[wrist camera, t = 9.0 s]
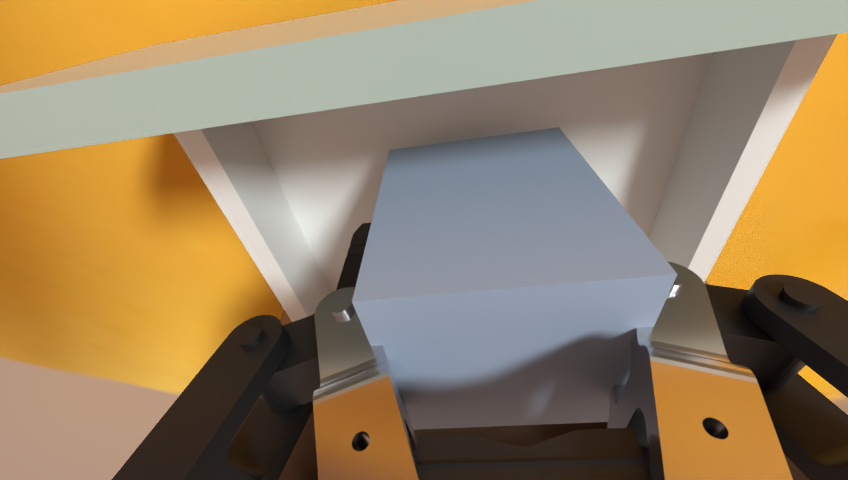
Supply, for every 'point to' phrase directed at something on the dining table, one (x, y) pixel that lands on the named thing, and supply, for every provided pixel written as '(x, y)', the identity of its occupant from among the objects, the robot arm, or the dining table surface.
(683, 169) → the tray
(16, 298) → the dining table surface
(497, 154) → the slate block
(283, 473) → the open wooden box
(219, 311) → the dining table surface
